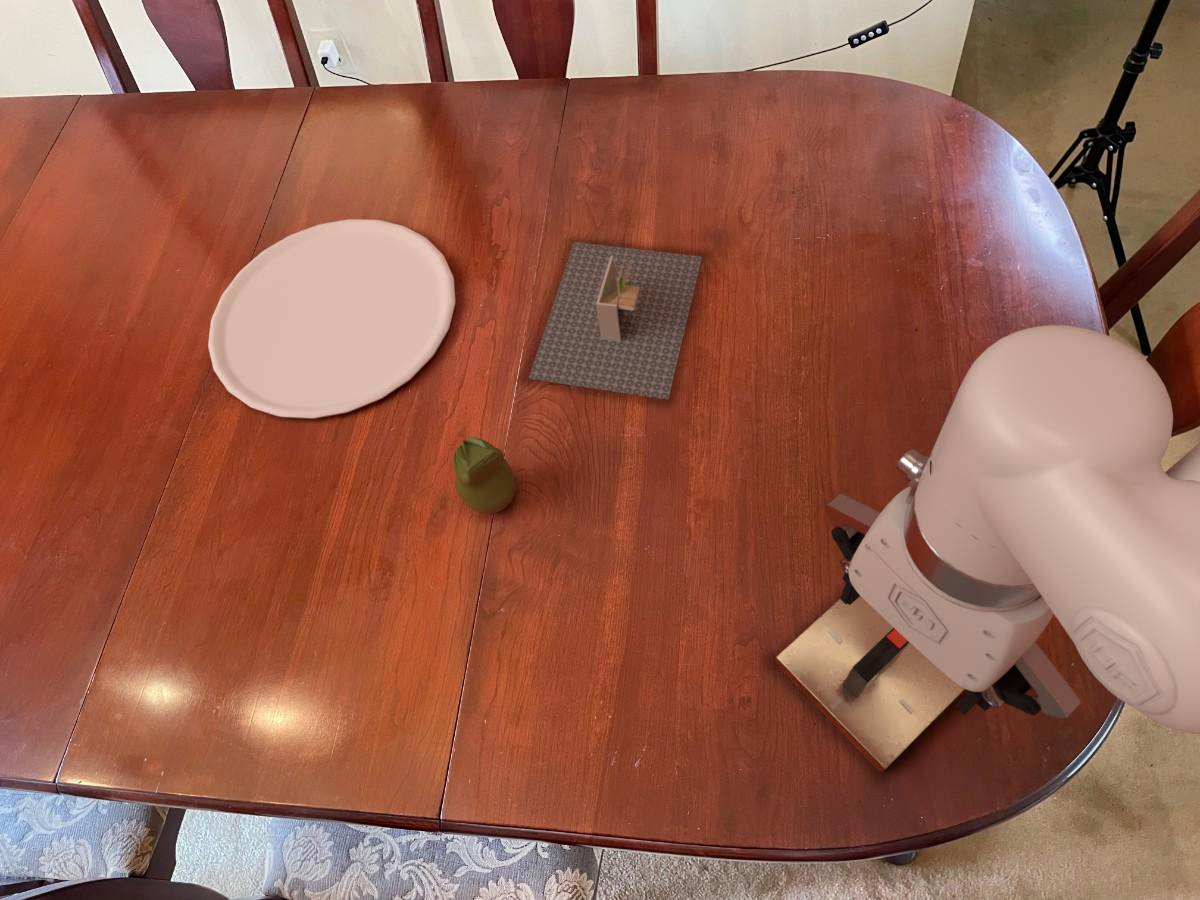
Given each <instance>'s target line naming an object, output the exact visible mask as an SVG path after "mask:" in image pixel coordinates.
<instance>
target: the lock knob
mask: <svg viewBox="0 0 1200 900" xmlns="http://www.w3.org/2000/svg"><path fill="white" fill-rule="evenodd" d="M909 643H910V642H909V641H908V640H907V639H905V638H904V637H903V636H902V635H901V634H900V633H899V632H898V631H897V630H896V629H895V628H893V629H892V630H891V631H890V632H889V633H887V634H886V635H885V636H884V637H883V638H882V639H881V640H880V641H879V642H878V643H877V644H876V645H875V646H874V647H873V648H872V649H871V650H870V651H869V652H868V653H867V654H866V655H865V656H864V657H863V658H862V659H861V660H859V661H858V662H857V663H856V664H855V665H854V666H853V667H852V669H851V671H850V672H849V674H848V676H847V677H846V679H845V681H844V682H843V684H844V685H845V686H846V687H847V688H848V689H849V690H850V691H851V692H852V693H853V694H854V695H855V696H856V697H857V698H858V697H859V696H860V695H861V694H862V693H863V692H864V691H865V690H866V689H867V688H868V687H869V686H870V685H871V684H872V683H873V682H874V681H875V680H876V679H877V678H878V677H879V676H880V675H881V674H882V673H883V672H884V671H886V670H887V669H888V668H889V667H890V666H891V665H892V664H893V663H894V662H895V661H896V660H897V659H898V657H899V656H900V655H901V653H902V652H903V651H904V649H905V648H906V647H907V645H908V644H909Z"/></svg>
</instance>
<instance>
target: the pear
mask: <svg viewBox="0 0 1200 900" xmlns="http://www.w3.org/2000/svg"><path fill="white" fill-rule="evenodd" d="M453 467H454V468H453V469H454V472H455V476H454V483H455V484H454V485H455V488H456V491H457V493H458V495H459V497H460V498H461V499H462V501H463V502H464V503H465V504H466V505H467V506H468V507H469V508H470V509H472V510H473V511H475V512H477V513H479V514H483V515H493V514H497V513H499V512H502V511H503V510H505V509H506V508H507V507H508V506H509V505H510V504H511V503H512V501H513V500H514V498H515V495H516V492H517V482H516V477H515V474H514V471H513V469H512V467H511V466H510V464H509V462H508V461H507V460H506V458H505V454H504V452H503V451H502V450H501V449H500V448H497V447H495V446H494V445H493V444H492V443H490V442H489V441H486V440H485V439H481V438H480V437H479V436H470V437H467V438H466V439H463V440H462V443H461V444H460V445H459V446H458V447H457V448H456V450H455V452H454V456H453Z"/></svg>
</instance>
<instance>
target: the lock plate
mask: <svg viewBox="0 0 1200 900" xmlns="http://www.w3.org/2000/svg"><path fill="white" fill-rule="evenodd" d="M893 628H894V627H893V626H892V625H890V624H889V623H888V622H887V621H886V620H885V619H884V618H883V617H882V616H881V615H880V614H879V613H878V612H877V611H876V610H875V609H873V608H872V607H871V606H870V605H869V604H868V603H867V602H866V601H865V600H864V599H863V598H862V597H861V596H860V597H859V598H858V599H856V600H855V601H854V602H853V603H852V604H851V605H849V604H845V603H844V602H843V601H842V600H840V598H838V599H837V601H836V602H835V603H834V604H832V605H831V606H830V607H829V608H828V609H827V610H826V611H825V612H823V614H821V615H820V616H819V617H818V618H817V619H816V620H814V622H812V624H810V625H809V626H808V627H807V628H806V629H805V630H803V632H801V634H799V635H798V636H797V637H796V638H795V639H794V640H793V641H791V642H790V644H788V645H787V646H786V647H785V648H784V649H783V650H782V651H781V652H779V654H777V656H775V659H774V665H775V666H776V667H777V668H778V669H779V670H780V671H781V672H782V673H783V674H784V675H785V676H786V677H787V679H789V681H790V682H792V683H793V684H794V686H795V687H796V688H798V690H800V692H802V694H803V695H804V696H805V697H806V698H807V699H808V700H809V701H810V702H811V703H812V704H813V705H814V706H815V707H816V708H817V709H818V710H819V711H820V712H821V714H823V715H824V716H825V717H826V718H827V720H828V721H829V722H831V723H832V725H833V726H834V727H835V728H836V729H837V730H838V731H839V732H840V733H841V734H842V735H843V736H844V737H845V738H846V739H847V740H848V741H849V742H850V743H851V744H852V745H853V746H854V748H856V749H857V751H858V752H860V753H861V755H862V756H863V757H865V759H866V760H867V761H868V762H869V763H870V764H871V765H872V766H873V767H874V768H875V769H876V770H877V771H878V772H879V773H880V774H881V773H883V772H884V771H885V770H887V768H889V766H890V765H891V764H893V762H894V761H895V760H896V759H897V758H899V756H900V755H901V754H902V753H903V752H904V751H905V750H906V749H907V748H909V746H910V745H911V744H912V743H913V742H915V740H916V739H917V738H918V737H919V736H921V734H922V733H923V732H924V731H925V730H926V729H927V728H928V727H929V726H930V725H931V724H932V723H933V722H934V721H935V720H936V719H937V718H938V717H939V716H940V715H941V714H942V713H943V712H944V711H945V710H946V709H947V708H949V706H950V705H951V704H952V703H953V702H954V701H955V700H956V699H957V698H958V697H959V696H960V695H961V694H962V693H963V692H964V691H965V690H966V689H964V688H963V687H961V686H959V685H958V684H956V683H955V682H954V681H952V680H951V679H950V678H949V677H947V676H946V675H945V674H944V673H943V672H942V671H941V670H939V669H938V668H937V667H936V666H935V665H934V664H933V663H932V662H931V661H929V660H928V659H927V658H926V657H925V656H924V655H923V654H922V653H921V652H920V651H919V650H917V649H916V648H915V647H914V646H913V645H912V644H911V643H909V644H908V645H907V647H906V648H905V649H904V651H903V652H902V653H901V655H900V656H899V657H898V659H897V660H896V661H895V662H894V663H893V664H892V665H891V666H890V667H889V668H888V669H887V670H886V671H884V672H883V673H882V674H881V675H880V676H879V677H878V678H877V679H876V680H875V681H874V682H873V683H872V684H871V685H870V686H869V687H868V688H867V689H866V690H865V691H864V692H863V693H862V694H861V695H860V696H859V697H858V698H857V697H856V696H855V695H854V694H853V693H852V692H851V691H850V690H849V689H848V688H847V687H846V686H845V685H844V684H843V682H844V681H845V679H846V677H847V676H848V674H849V672H850V671H851V669H852V667H853V666H854V665H855V664H856V663H857V662H858V661H859V660H861V659H862V658H863V657H864V656H865V655H866V654H867V653H868V652H869V651H870V650H871V649H872V648H873V647H874V646H875V645H876V644H877V643H878V642H879V641H880V640H881V639H882V638H883V637H884V636H885V635H886V634H887V633H889V632H890V631H891V630H892V629H893Z"/></svg>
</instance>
